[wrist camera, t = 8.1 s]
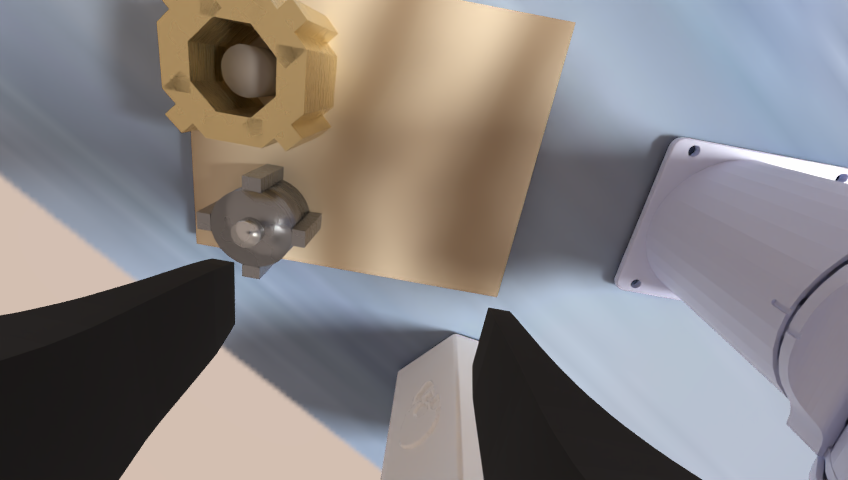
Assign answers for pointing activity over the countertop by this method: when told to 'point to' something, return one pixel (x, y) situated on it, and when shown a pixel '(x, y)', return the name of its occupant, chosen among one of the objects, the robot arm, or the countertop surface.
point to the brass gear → (242, 24)
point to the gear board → (408, 138)
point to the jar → (435, 417)
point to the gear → (260, 220)
